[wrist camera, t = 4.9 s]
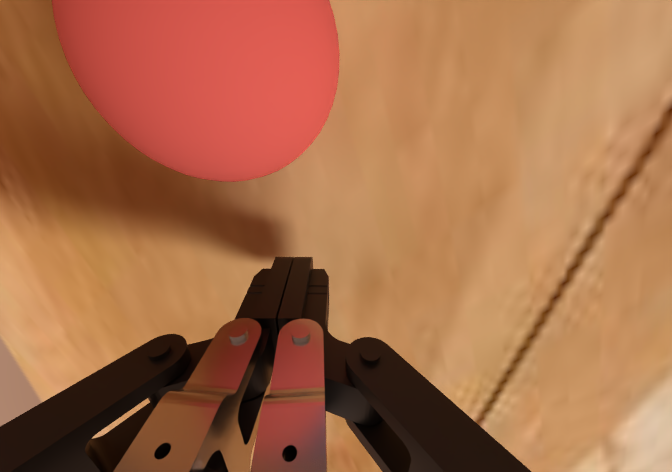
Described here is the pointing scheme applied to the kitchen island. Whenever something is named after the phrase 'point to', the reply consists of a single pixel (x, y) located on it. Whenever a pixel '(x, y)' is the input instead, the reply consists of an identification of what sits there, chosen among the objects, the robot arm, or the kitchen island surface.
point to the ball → (206, 78)
